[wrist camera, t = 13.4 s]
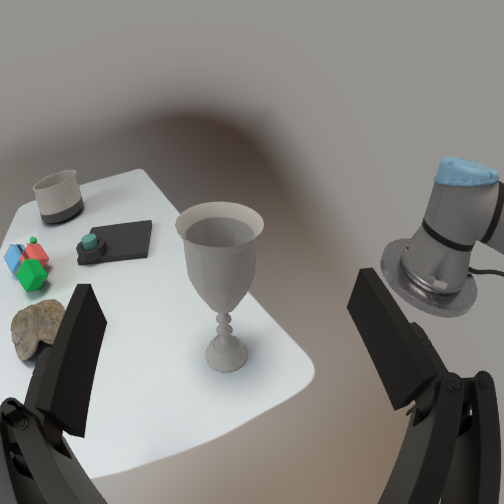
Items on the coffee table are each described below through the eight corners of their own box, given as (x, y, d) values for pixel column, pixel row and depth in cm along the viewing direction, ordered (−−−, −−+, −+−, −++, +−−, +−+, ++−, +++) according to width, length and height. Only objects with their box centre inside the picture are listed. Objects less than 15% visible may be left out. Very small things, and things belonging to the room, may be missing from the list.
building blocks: (42, 300, 42) (15, 257, 41) (61, 272, 42) (32, 228, 42) (18, 307, 34) (-10, 257, 34) (35, 275, 34) (7, 225, 34)
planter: (66, 202, 67) (59, 169, 61) (93, 206, 64) (85, 170, 58) (36, 224, 57) (25, 189, 51) (59, 230, 54) (48, 191, 48)
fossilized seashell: (34, 300, 34) (22, 276, 29) (87, 323, 36) (80, 302, 31) (10, 356, 26) (-9, 338, 21) (65, 385, 28) (52, 373, 24)
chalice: (188, 342, 33) (165, 212, 23) (236, 324, 36) (236, 196, 25) (214, 388, 28) (194, 258, 17) (266, 365, 31) (282, 232, 20)
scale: (152, 224, 57) (150, 212, 55) (146, 260, 46) (143, 246, 45) (93, 232, 54) (90, 220, 52) (77, 268, 44) (72, 255, 42)
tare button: (99, 240, 46) (97, 232, 45) (96, 249, 44) (93, 241, 43) (86, 242, 46) (83, 234, 45) (82, 251, 43) (79, 243, 42)
